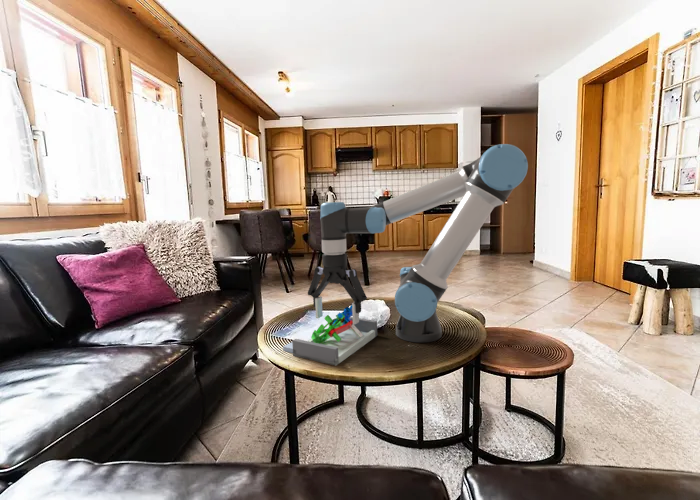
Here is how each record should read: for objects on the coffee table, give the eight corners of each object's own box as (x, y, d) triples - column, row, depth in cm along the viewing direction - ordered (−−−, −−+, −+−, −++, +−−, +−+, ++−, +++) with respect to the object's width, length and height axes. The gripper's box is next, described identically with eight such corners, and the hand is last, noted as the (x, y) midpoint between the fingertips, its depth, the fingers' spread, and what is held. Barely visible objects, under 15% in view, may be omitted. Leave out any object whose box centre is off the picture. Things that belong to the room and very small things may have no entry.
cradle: (377, 335, 121) (376, 320, 121) (335, 366, 99) (335, 349, 98) (339, 328, 129) (338, 315, 128) (293, 356, 107) (292, 340, 106)
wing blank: (298, 344, 116) (298, 338, 116) (308, 347, 114) (307, 341, 114) (283, 352, 111) (282, 346, 110) (292, 355, 108) (292, 349, 108)
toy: (344, 324, 126) (358, 301, 120) (363, 344, 122) (378, 321, 116) (303, 343, 110) (317, 317, 105) (323, 366, 106) (338, 340, 101)
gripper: (376, 252, 107) (378, 321, 110) (308, 249, 119) (311, 311, 122) (364, 256, 100) (366, 329, 103) (294, 252, 113) (298, 318, 116)
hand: (337, 320), depth 113 cm, fingers open, 13 cm apart
